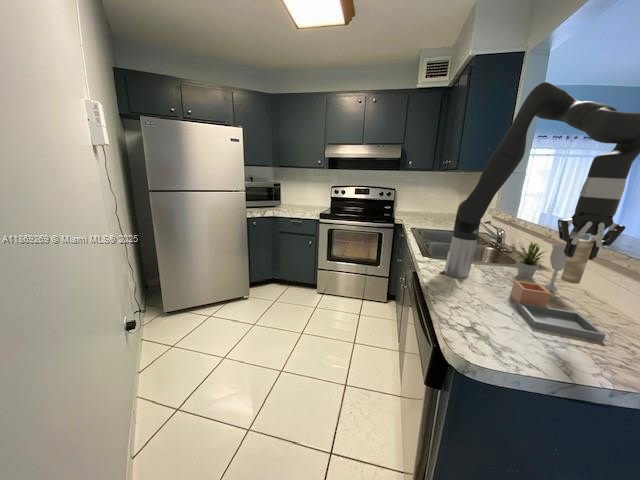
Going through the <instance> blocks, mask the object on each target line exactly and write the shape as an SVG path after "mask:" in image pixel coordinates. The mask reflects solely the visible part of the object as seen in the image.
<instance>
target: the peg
mask: <svg viewBox="0 0 640 480" xmlns="http://www.w3.org/2000/svg"><path fill="white" fill-rule="evenodd" d="M575 245H576V248H575V251H574V254H573V257H568V259H567V262H566V265H565V268H564V269H562V270H563V271H562V274H561V277H560V280H562V281H564V282H567V283H570V284H575V285H576V284H577V285H578V284H580V283H581V281H582V277H583V276H584V272H585V270H586V267H587V264H588V262H589V256H590V253H591V250H592V248H593V245H594V242H592V241H590V240H587V239H581V238H580V239H579V240H578V242H577V243H576V244H575Z"/></svg>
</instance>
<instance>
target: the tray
mask: <svg viewBox="0 0 640 480" xmlns="http://www.w3.org/2000/svg"><path fill="white" fill-rule="evenodd" d="M516 305H517V306H516V309H517V310H518V311H519V312H520V313H521V315H522V316H523V318H524V319H525V320H526V321H527V322H528V323H529V325H530V326H531V327H532V328H534V329H537V330H543V331H548V332H554V333H556V334H557V333H558V334H563V335H567V336H572V337H577V338H583V339H587V340H591V341H592V340H593V341H598V342H604V340H605V337H606V334H605V333H604V332H603V331H601V330H600V329H599V328H598V327H597V326H595V325H594V324H593V323H592V322H591V321H589V320H588V319H587V318H585V316H583V315H582V314H581V313H579V312H577V311H572V310H571V311H570V310H564V309H559V308H553V307H547V306H546V307H543V306H537V305H531V304H526V303H520V302H518V304H516Z"/></svg>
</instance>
